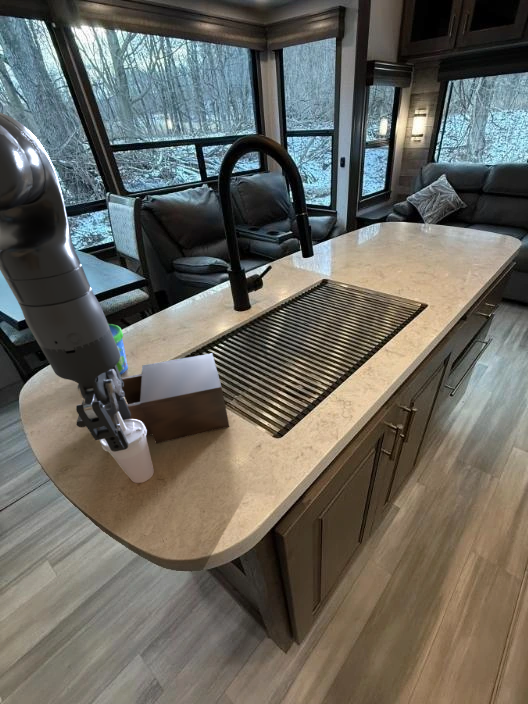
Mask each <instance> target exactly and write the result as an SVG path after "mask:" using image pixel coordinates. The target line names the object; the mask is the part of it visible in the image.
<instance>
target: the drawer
mask: <svg viewBox="0 0 528 704" xmlns="http://www.w3.org/2000/svg"><path fill="white" fill-rule="evenodd" d="M121 378H122V381H123V382H124V387H122V390H123V391H124V393H125V395H124V399H125V401H126V404H127V406H128V408H129V410H130V413H131V417H130V418H129V419H136V420H139V421H141V422H142V423H143V424H144V426H145V427H146V430H147V434H146V437H148V436H153V435H152V432H151V430H150V427H149V425H148V422H147V420H146V417H145V415H144V412H143V410H142V408H141V405H140V395H141V379H142V373H140V374H134V375H129V376H123V377H122V376H121ZM81 404H84V400H83V399H82V401H81ZM109 408H110V407H109V405H105V409H109ZM109 417H110V416H109ZM110 419H111V417H110ZM75 424H76V427H78V428H86V425H85V424H84V422H83V421H82V419H81V418H80V416H79V415H77V419H76V423H75Z"/></svg>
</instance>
